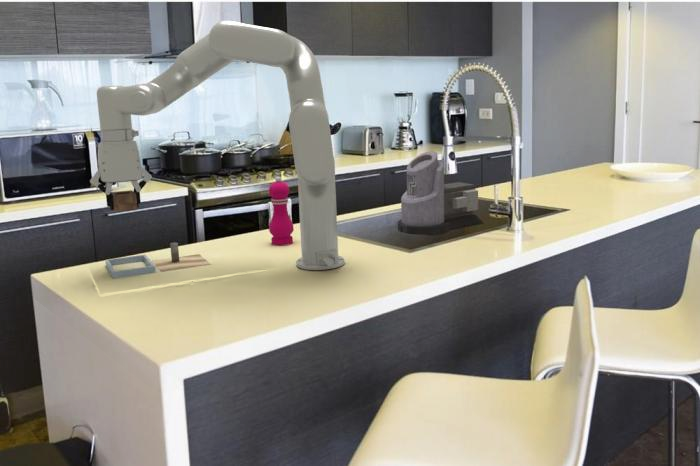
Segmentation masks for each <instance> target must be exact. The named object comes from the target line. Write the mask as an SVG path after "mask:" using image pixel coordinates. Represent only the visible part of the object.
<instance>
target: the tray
mask: <svg viewBox="0 0 700 466" xmlns="http://www.w3.org/2000/svg"><path fill="white" fill-rule="evenodd" d="M141 262H144V263H145V265H146V266H143V267H142V266H141V267H135V268H127V269H121V270H120V269H119V270H115V268H114V267H113V266H118V265H127V264H133V263H141ZM105 266H106V268H107V271H108V272H109V273H110V276H111V278H112V279H114V280H115V279H121V278H127V277H132V276H141V275H147V274H154V273H156V272H157V271H156V265H155V264H154V263H153V262H152V261H151V259H150V258H149V257H148V256H147V255H146V254H139V255H138V254H137V255H132V256H125V257H119V258H109V259H105Z"/></svg>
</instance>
